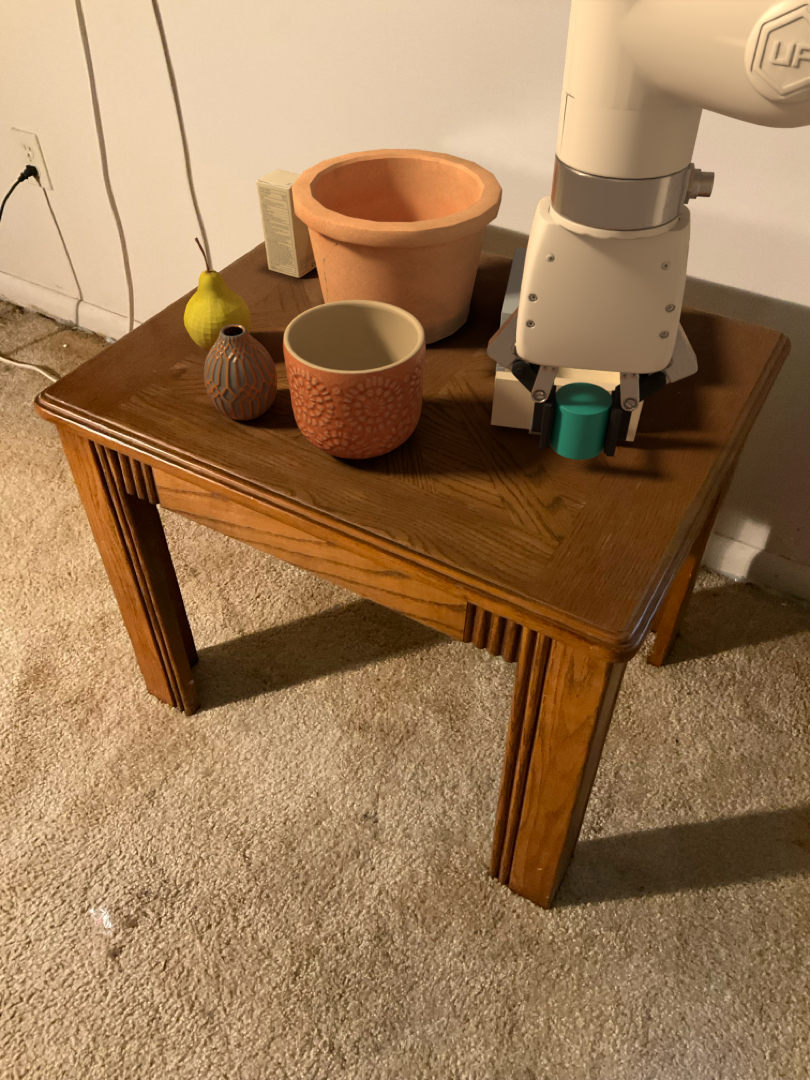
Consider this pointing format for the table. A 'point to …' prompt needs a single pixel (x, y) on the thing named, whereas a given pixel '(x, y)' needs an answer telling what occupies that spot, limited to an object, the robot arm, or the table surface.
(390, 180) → the pottery
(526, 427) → the drawer
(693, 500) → the table surface
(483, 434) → the table surface
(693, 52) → the robot arm
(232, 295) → the fruit
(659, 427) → the table surface
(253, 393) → the vase
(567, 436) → the cylinder
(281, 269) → the box
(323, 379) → the planter
